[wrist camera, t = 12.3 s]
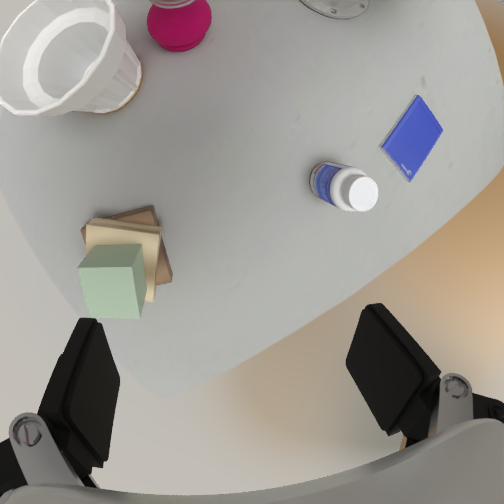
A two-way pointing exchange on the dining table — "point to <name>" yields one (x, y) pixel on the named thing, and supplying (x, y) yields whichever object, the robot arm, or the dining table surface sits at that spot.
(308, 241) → the dining table surface
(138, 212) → the walnut base block
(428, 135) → the hard drive
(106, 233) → the oak top block
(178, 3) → the pepper mill
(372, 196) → the pill bottle
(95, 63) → the cup
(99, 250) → the sage block
